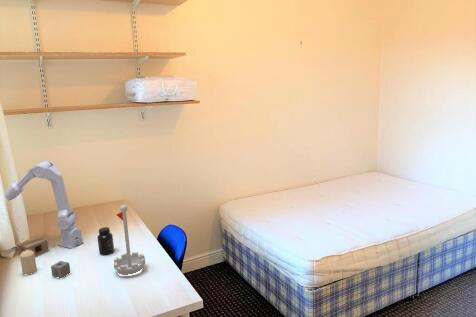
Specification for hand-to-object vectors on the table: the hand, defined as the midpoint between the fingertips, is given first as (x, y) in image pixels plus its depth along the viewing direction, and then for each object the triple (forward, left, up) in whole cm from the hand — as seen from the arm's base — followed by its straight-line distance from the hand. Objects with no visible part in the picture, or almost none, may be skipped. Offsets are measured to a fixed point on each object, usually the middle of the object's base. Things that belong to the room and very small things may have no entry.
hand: (12, 242), depth 189 cm
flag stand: (-72, -8, -3) cm, 72 cm away
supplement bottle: (-49, -16, -3) cm, 52 cm away
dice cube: (-47, +8, -3) cm, 48 cm away
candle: (-32, +12, -3) cm, 34 cm away
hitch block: (-17, 0, -2) cm, 17 cm away
